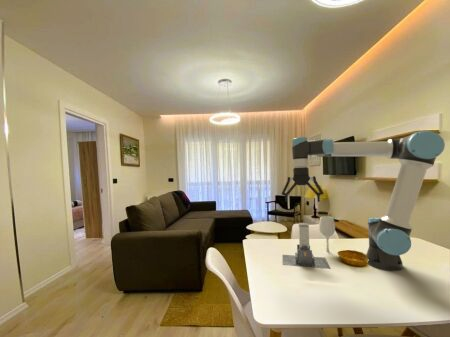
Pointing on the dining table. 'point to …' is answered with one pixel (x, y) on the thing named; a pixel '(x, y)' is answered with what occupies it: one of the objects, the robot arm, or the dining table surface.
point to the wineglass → (327, 228)
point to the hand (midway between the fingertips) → (302, 208)
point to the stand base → (305, 259)
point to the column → (303, 235)
